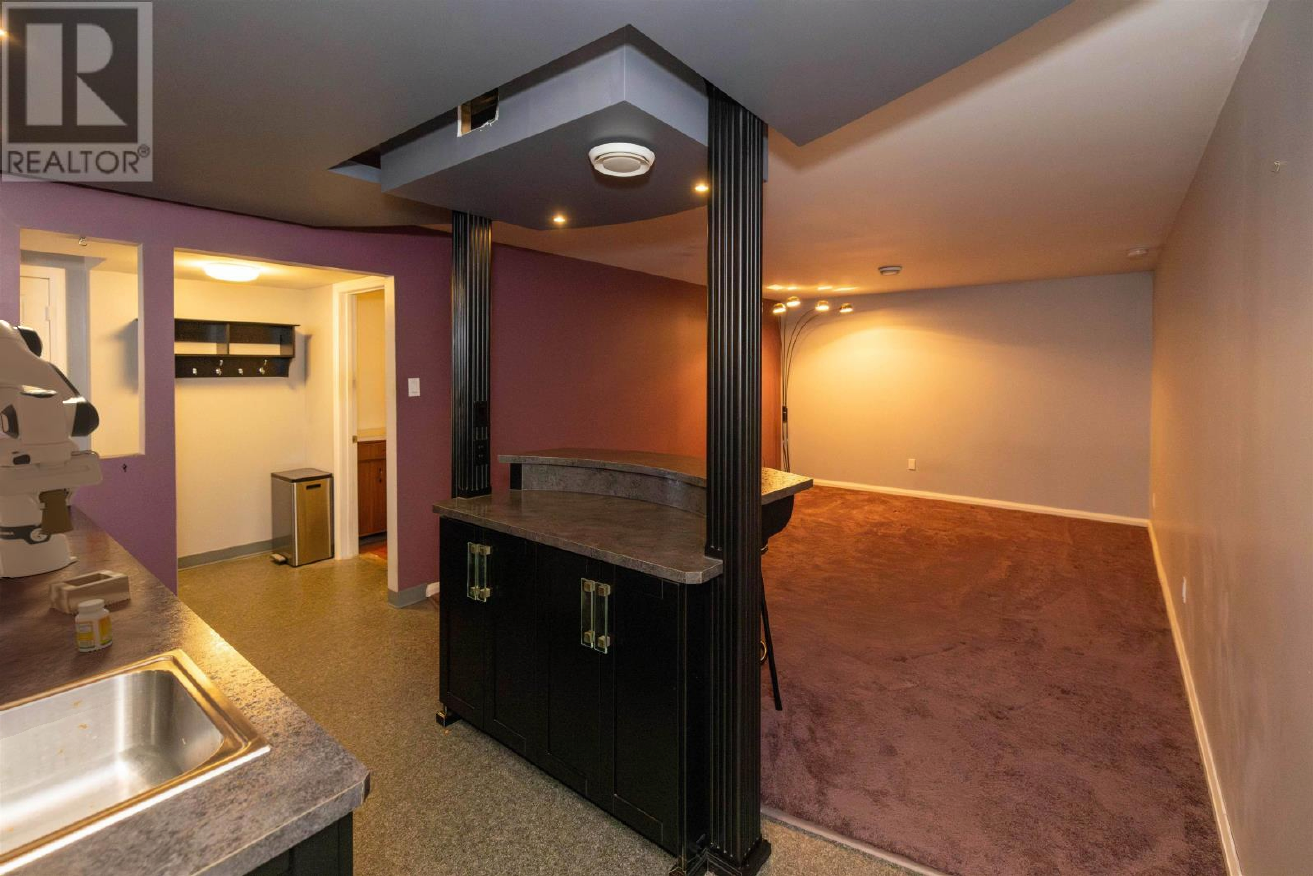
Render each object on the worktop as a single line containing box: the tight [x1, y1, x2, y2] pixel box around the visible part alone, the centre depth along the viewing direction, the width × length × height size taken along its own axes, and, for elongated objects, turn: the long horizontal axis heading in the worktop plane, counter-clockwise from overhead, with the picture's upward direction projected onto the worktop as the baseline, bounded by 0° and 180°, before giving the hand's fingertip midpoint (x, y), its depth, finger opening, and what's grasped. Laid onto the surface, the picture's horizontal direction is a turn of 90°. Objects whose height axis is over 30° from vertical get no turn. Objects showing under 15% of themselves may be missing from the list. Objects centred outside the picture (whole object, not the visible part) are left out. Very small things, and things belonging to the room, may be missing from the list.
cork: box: [39, 489, 75, 535], centre depth 159 cm, size 6×6×11 cm
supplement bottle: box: [74, 599, 113, 653], centre depth 129 cm, size 5×5×10 cm
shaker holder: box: [47, 569, 131, 616], centre depth 154 cm, size 11×11×6 cm
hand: (54, 507), depth 159 cm, fingers closed on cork, 4 cm apart
